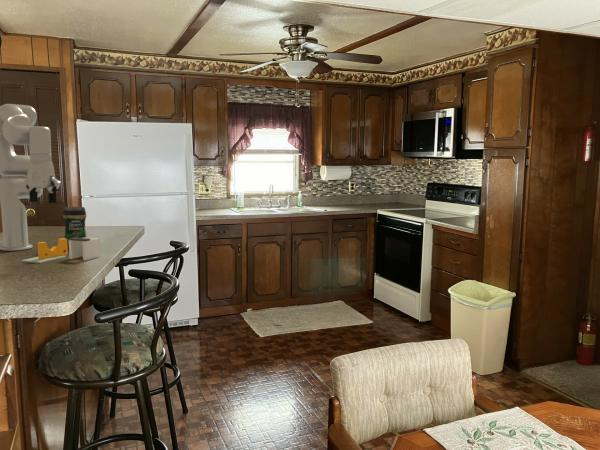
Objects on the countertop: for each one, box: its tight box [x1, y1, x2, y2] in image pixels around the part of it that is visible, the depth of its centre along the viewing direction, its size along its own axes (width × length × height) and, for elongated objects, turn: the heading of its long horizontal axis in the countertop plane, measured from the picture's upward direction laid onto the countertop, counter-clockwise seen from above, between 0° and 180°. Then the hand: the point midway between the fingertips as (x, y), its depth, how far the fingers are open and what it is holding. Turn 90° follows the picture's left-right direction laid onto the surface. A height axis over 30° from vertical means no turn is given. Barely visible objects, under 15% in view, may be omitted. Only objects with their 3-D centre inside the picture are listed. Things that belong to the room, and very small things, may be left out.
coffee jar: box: [62, 206, 88, 250], centre depth 224 cm, size 10×8×19 cm
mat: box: [21, 255, 67, 264], centre depth 198 cm, size 9×13×1 cm
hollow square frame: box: [68, 237, 101, 261], centre depth 202 cm, size 8×8×8 cm
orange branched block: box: [37, 237, 69, 259], centre depth 201 cm, size 12×4×6 cm, turn 158°
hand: (43, 202), depth 197 cm, fingers open, 9 cm apart
